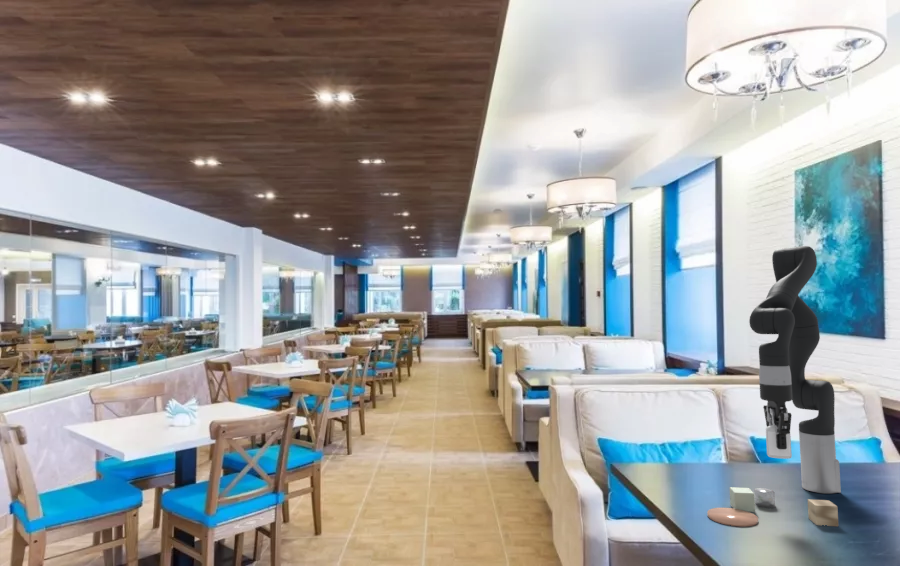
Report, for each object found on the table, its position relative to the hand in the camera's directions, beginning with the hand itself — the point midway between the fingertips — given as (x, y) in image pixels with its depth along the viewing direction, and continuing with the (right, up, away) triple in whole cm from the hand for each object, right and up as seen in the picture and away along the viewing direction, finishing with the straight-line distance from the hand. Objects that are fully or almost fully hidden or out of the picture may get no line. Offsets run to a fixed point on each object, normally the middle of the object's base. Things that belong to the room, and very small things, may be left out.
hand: (778, 446), depth 149 cm
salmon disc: (-13, -18, -2) cm, 23 cm away
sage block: (-6, -19, +6) cm, 21 cm away
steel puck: (+1, -19, +9) cm, 21 cm away
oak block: (+9, -18, -5) cm, 21 cm away
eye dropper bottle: (0, -3, 0) cm, 3 cm away
